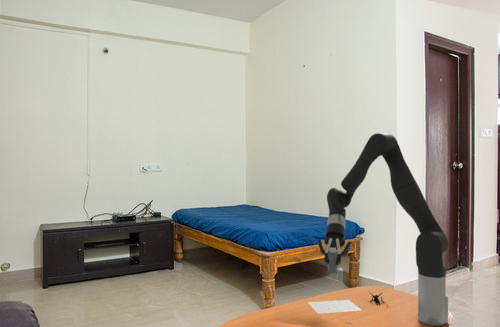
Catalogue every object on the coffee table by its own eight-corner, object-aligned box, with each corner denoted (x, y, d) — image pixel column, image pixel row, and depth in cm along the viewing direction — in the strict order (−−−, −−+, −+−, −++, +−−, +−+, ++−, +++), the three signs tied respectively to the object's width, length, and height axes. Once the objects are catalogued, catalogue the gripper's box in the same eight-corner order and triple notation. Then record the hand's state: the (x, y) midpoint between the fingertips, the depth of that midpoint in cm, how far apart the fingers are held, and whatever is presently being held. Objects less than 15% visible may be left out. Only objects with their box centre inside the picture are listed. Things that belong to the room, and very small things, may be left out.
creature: (389, 312, 153) (384, 300, 160) (389, 300, 152) (385, 289, 159) (368, 311, 154) (365, 299, 161) (369, 299, 153) (366, 288, 160)
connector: (328, 269, 154) (329, 246, 154) (338, 270, 153) (338, 247, 153) (327, 272, 149) (327, 248, 149) (336, 273, 148) (336, 249, 148)
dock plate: (348, 302, 160) (348, 299, 160) (362, 313, 148) (362, 310, 148) (307, 305, 156) (307, 302, 156) (318, 316, 144) (318, 313, 144)
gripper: (318, 221, 160) (313, 257, 149) (352, 223, 156) (350, 260, 144) (319, 231, 165) (315, 267, 154) (353, 234, 161) (351, 270, 149)
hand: (332, 263), depth 149 cm, fingers closed on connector, 3 cm apart
